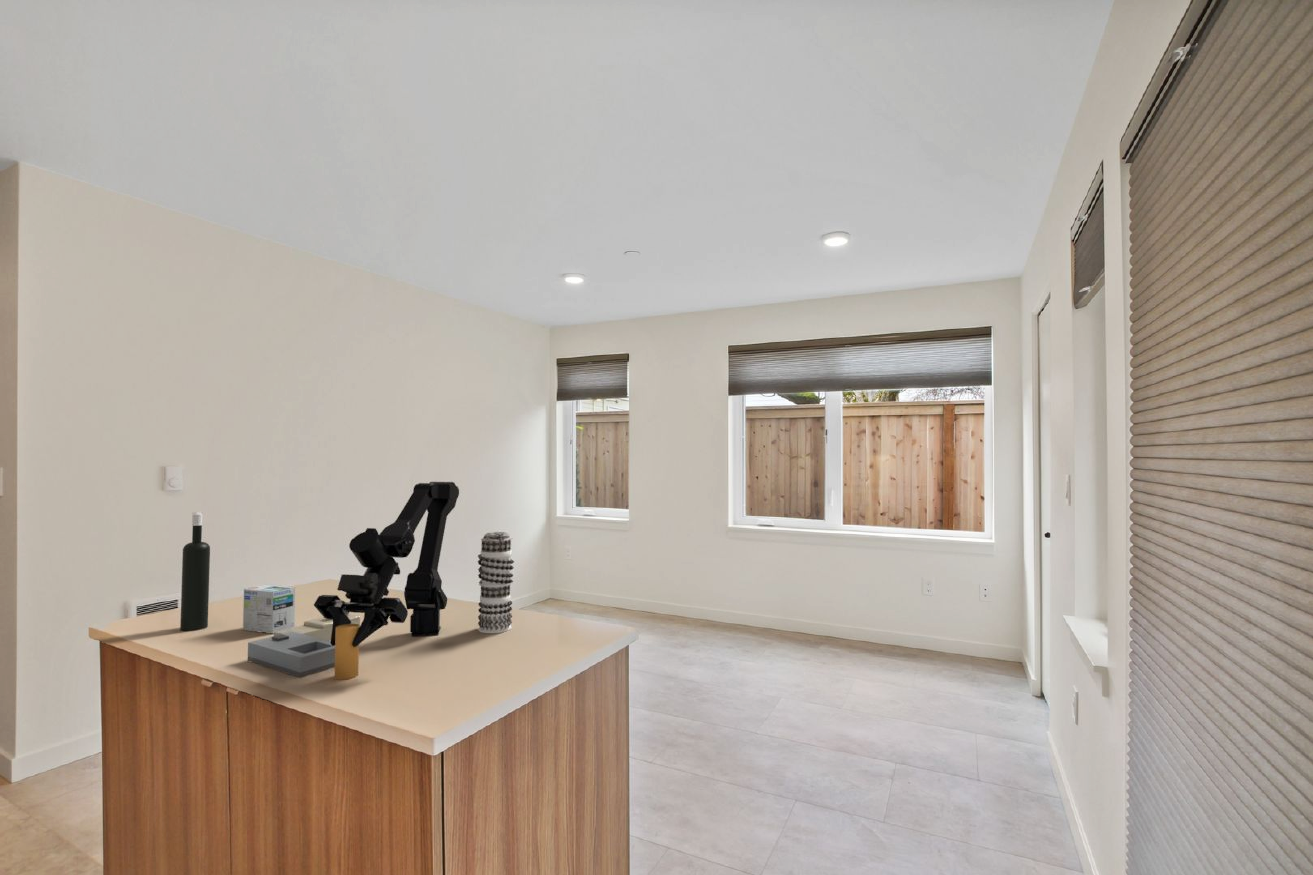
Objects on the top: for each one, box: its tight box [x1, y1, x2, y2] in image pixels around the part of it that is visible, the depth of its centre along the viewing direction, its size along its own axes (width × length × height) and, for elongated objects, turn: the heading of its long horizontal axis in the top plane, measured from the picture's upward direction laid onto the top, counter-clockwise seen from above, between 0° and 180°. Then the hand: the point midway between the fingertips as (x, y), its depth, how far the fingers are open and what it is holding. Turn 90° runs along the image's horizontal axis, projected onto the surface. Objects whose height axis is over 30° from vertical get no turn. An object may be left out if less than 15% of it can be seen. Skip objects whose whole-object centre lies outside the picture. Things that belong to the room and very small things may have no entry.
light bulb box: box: [242, 584, 296, 634], centre depth 163 cm, size 11×7×11 cm, turn 71°
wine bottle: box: [179, 511, 211, 632], centre depth 164 cm, size 6×6×30 cm
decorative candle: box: [477, 531, 515, 634], centre depth 165 cm, size 9×9×25 cm
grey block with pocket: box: [247, 632, 335, 678], centre depth 137 cm, size 20×10×5 cm, turn 60°
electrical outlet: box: [273, 613, 361, 641], centre depth 155 cm, size 7×4×18 cm
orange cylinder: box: [334, 624, 360, 681], centre depth 129 cm, size 4×4×10 cm
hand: (342, 645), depth 127 cm, fingers closed on orange cylinder, 4 cm apart
